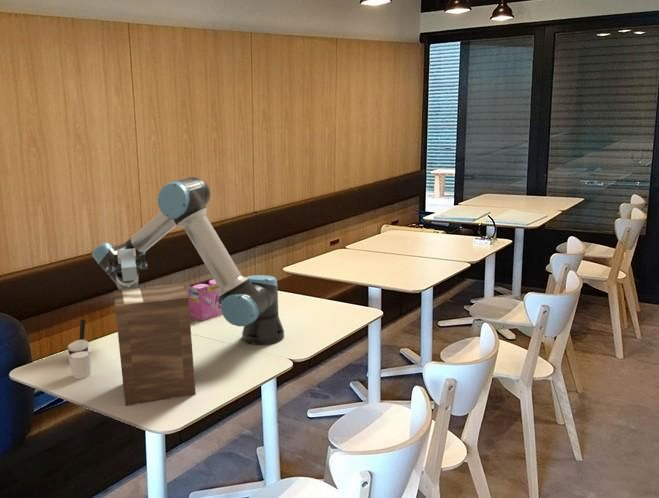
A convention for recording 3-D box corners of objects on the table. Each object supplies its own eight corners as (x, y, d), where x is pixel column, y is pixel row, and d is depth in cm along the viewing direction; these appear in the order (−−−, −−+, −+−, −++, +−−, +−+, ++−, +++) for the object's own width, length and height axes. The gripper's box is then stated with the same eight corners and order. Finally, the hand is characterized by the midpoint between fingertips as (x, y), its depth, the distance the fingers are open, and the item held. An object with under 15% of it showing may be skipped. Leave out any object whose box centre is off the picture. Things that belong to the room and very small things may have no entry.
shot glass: (74, 371, 213) (72, 351, 211) (96, 370, 213) (93, 349, 212) (68, 380, 206) (65, 359, 204) (90, 378, 207) (88, 358, 205)
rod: (120, 261, 214) (119, 249, 213) (133, 260, 215) (132, 248, 214) (123, 281, 191) (121, 268, 190) (137, 279, 192) (136, 266, 191)
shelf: (123, 383, 202) (113, 290, 196) (188, 373, 209) (181, 282, 202) (125, 405, 188) (115, 305, 181) (195, 394, 194) (188, 297, 187)
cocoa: (74, 364, 219) (70, 331, 216) (62, 360, 222) (58, 328, 219) (97, 354, 227) (93, 322, 223) (85, 350, 230) (81, 318, 226)
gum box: (233, 302, 280) (231, 272, 277) (246, 306, 275) (244, 274, 272) (188, 317, 262) (186, 285, 259) (201, 321, 257) (199, 288, 254)
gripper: (153, 280, 228) (155, 261, 207) (102, 286, 223) (98, 267, 201) (151, 260, 230) (153, 239, 209) (100, 265, 225) (96, 244, 203)
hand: (126, 252), depth 205 cm, fingers closed on rod, 4 cm apart
